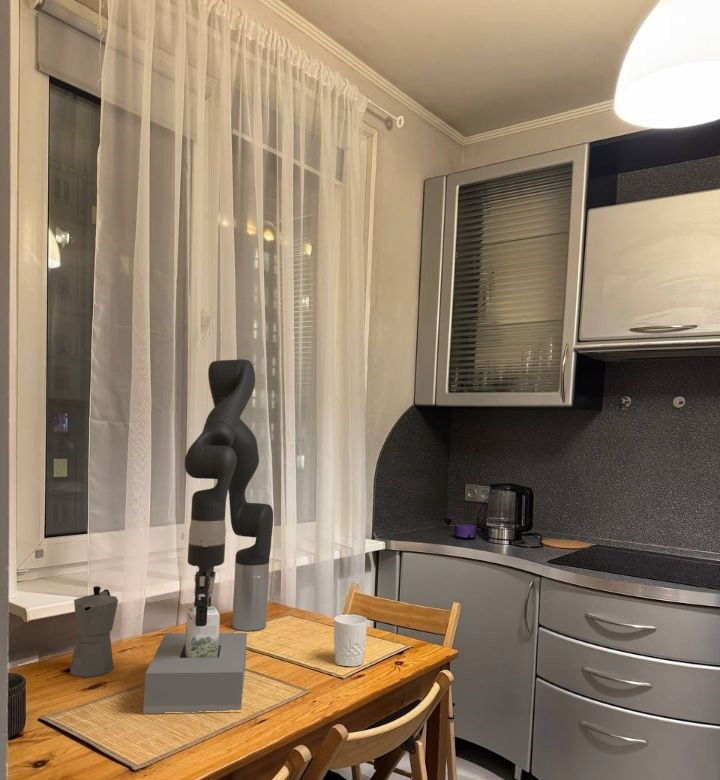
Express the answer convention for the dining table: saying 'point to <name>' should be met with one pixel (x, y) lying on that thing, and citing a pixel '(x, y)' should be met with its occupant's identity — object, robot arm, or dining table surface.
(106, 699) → the dining table surface
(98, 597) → the coffeepot
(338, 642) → the white cup
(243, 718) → the dining table surface
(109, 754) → the dining table surface
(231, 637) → the post block
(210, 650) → the syrup box
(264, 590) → the robot arm
